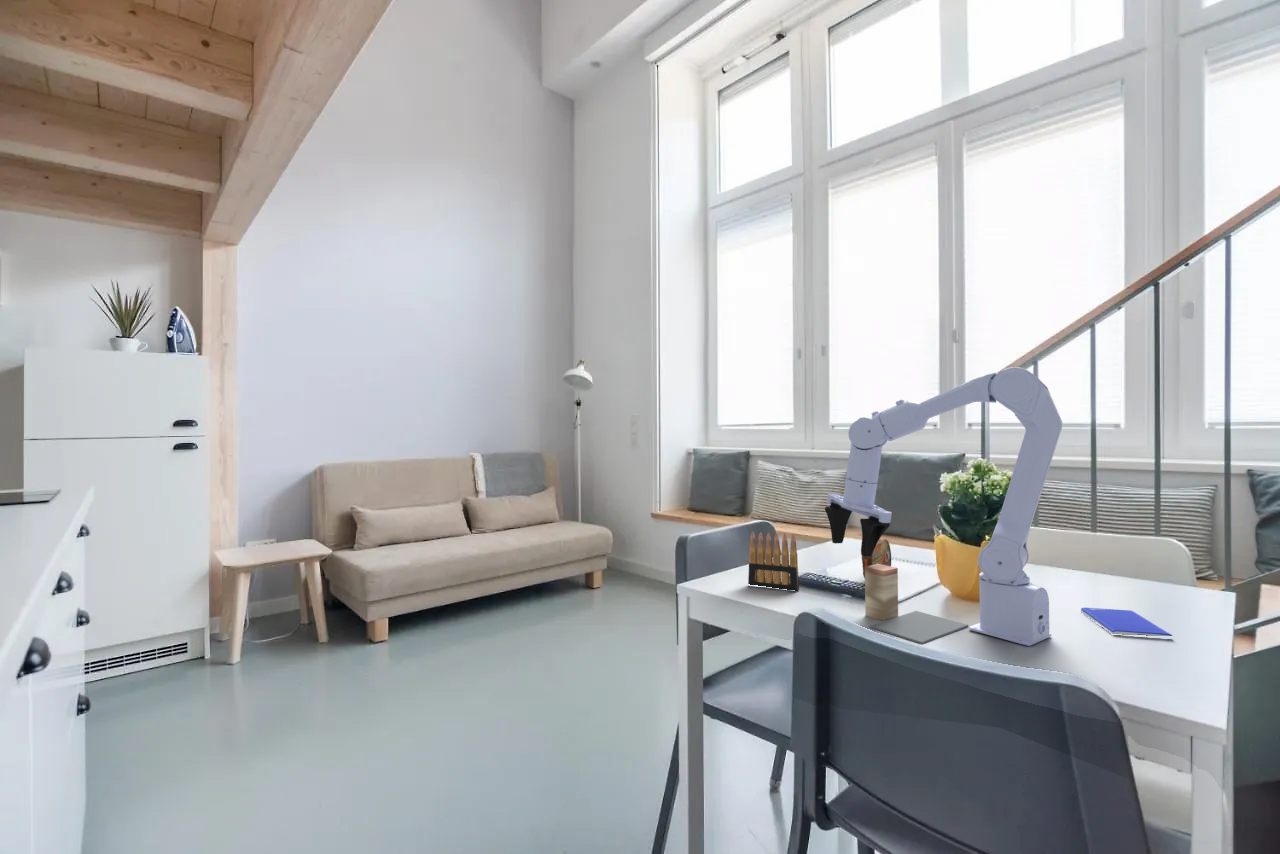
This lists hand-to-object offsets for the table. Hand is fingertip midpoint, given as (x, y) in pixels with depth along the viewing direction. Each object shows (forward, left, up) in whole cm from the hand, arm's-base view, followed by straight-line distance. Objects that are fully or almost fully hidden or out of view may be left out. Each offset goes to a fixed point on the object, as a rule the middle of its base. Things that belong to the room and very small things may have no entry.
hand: (851, 549), depth 115 cm
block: (-7, +1, -11) cm, 13 cm away
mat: (-14, +1, -11) cm, 18 cm away
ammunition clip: (+18, +3, -11) cm, 21 cm away
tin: (+10, -22, -11) cm, 27 cm away
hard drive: (-34, -28, -12) cm, 46 cm away
